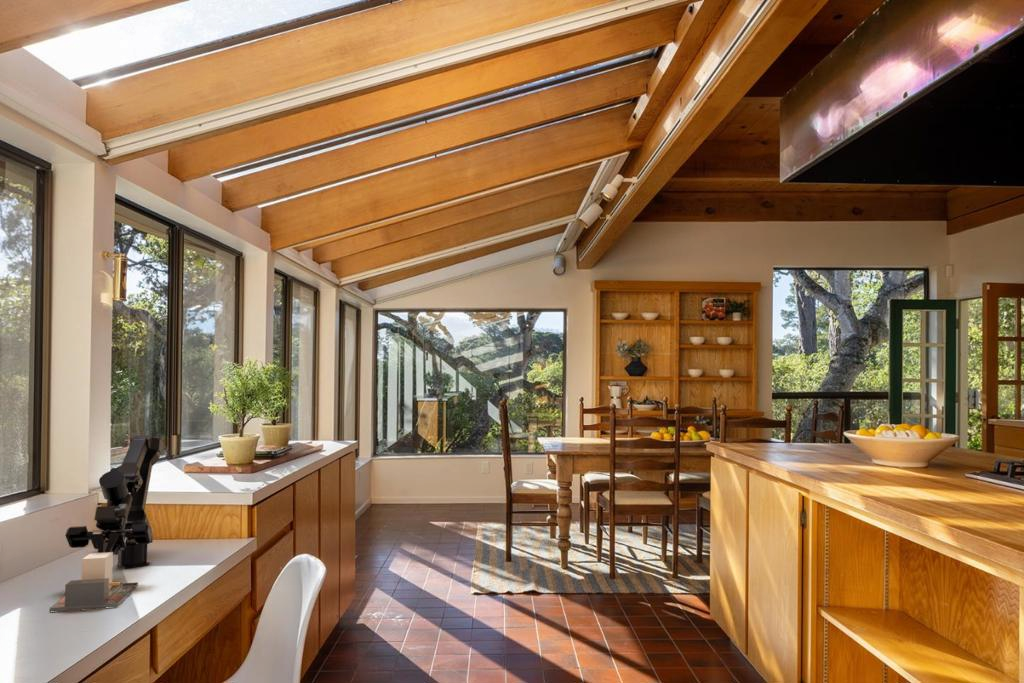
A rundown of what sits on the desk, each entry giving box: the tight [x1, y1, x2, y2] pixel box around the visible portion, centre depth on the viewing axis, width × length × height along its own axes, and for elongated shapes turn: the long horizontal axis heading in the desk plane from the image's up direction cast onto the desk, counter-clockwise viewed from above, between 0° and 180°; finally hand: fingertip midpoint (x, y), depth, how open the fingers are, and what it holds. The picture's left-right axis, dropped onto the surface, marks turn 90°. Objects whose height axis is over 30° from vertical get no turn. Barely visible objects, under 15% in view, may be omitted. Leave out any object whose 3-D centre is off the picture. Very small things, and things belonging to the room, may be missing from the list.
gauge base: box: [49, 578, 139, 613], centre depth 171 cm, size 18×14×6 cm
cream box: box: [80, 552, 121, 592], centre depth 171 cm, size 6×10×9 cm, turn 104°
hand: (101, 564), depth 174 cm, fingers closed, pressing on cream box
